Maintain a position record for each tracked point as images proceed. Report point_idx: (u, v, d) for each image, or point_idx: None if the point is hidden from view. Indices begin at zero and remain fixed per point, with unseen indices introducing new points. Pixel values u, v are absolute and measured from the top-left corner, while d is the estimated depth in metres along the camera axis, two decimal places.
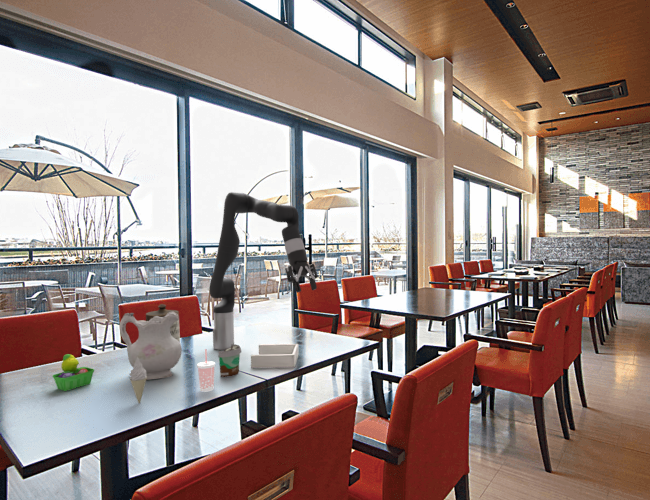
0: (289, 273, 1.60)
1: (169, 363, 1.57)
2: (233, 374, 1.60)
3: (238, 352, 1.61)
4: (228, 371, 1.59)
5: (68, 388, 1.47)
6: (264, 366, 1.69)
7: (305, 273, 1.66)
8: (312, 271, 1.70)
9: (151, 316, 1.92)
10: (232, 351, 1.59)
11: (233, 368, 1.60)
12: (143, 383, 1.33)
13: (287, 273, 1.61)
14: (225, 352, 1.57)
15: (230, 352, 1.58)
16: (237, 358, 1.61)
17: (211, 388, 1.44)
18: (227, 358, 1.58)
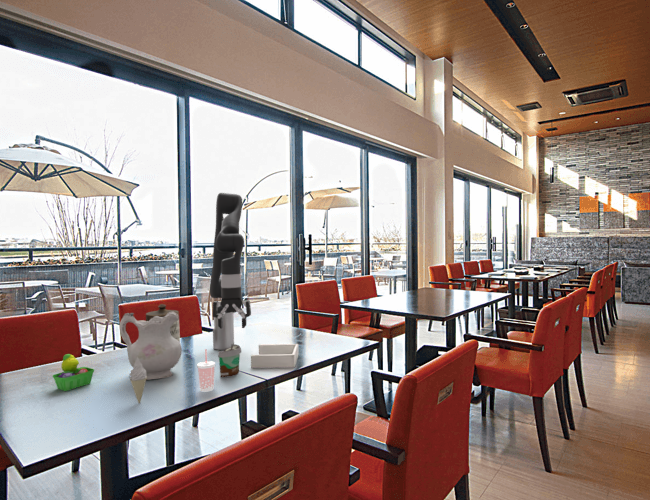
0: None
1: (169, 363, 1.57)
2: (233, 374, 1.60)
3: (238, 352, 1.61)
4: (228, 371, 1.59)
5: (68, 388, 1.47)
6: (264, 366, 1.69)
7: (233, 311, 1.61)
8: None
9: (151, 316, 1.92)
10: (232, 351, 1.59)
11: (233, 368, 1.60)
12: (143, 383, 1.33)
13: None
14: (225, 352, 1.57)
15: (230, 352, 1.58)
16: (237, 358, 1.61)
17: (211, 388, 1.44)
18: (227, 358, 1.58)
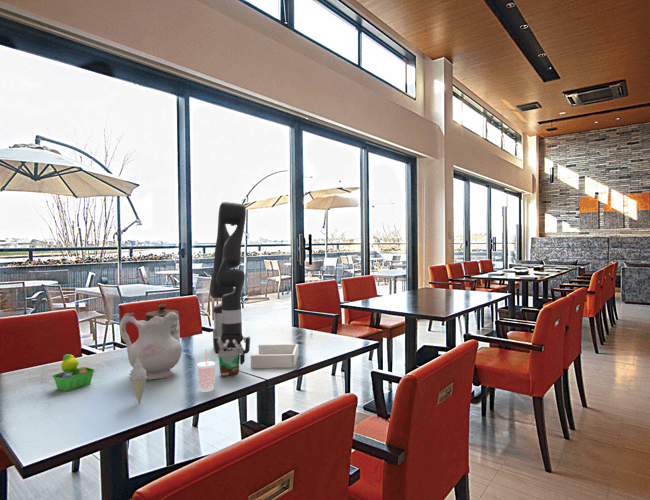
0: None
1: (169, 363, 1.57)
2: (233, 374, 1.60)
3: (238, 352, 1.61)
4: (228, 371, 1.59)
5: (68, 388, 1.47)
6: (264, 366, 1.69)
7: (232, 346, 1.61)
8: (246, 344, 1.62)
9: (151, 316, 1.92)
10: (232, 351, 1.59)
11: (233, 368, 1.60)
12: (143, 383, 1.33)
13: None
14: (225, 352, 1.57)
15: (230, 352, 1.58)
16: (237, 358, 1.61)
17: (211, 388, 1.44)
18: (227, 358, 1.58)
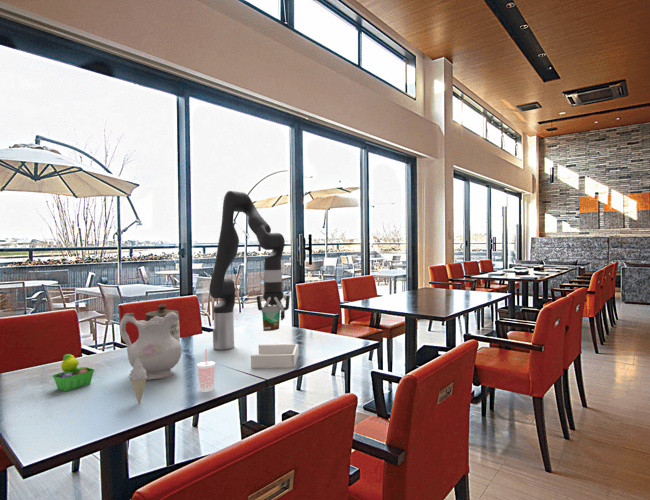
0: None
1: (169, 363, 1.57)
2: (275, 328, 1.75)
3: (279, 308, 1.76)
4: (271, 325, 1.74)
5: (68, 388, 1.47)
6: (264, 366, 1.69)
7: (274, 303, 1.76)
8: (286, 302, 1.77)
9: (151, 316, 1.92)
10: (274, 307, 1.74)
11: (275, 323, 1.75)
12: (143, 383, 1.33)
13: None
14: (268, 308, 1.73)
15: (272, 308, 1.73)
16: (278, 314, 1.76)
17: (211, 388, 1.44)
18: (269, 313, 1.73)
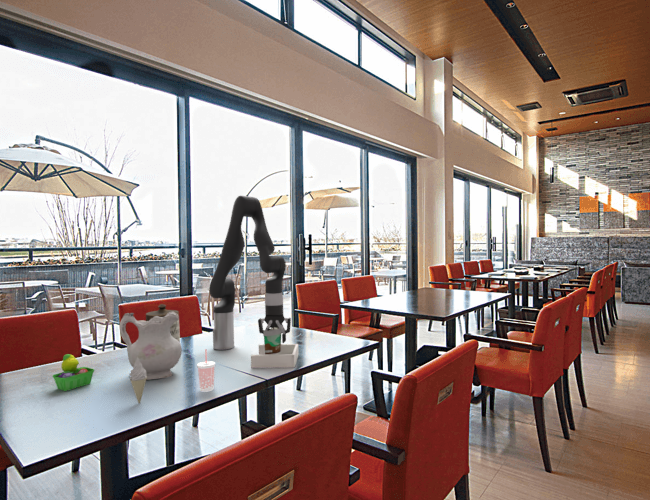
0: None
1: (169, 363, 1.57)
2: (276, 351, 1.75)
3: (280, 331, 1.76)
4: (272, 348, 1.74)
5: (68, 388, 1.47)
6: (264, 366, 1.69)
7: (275, 326, 1.77)
8: (287, 325, 1.77)
9: (151, 316, 1.92)
10: (275, 330, 1.74)
11: (276, 346, 1.75)
12: (143, 383, 1.33)
13: None
14: (269, 331, 1.73)
15: (274, 331, 1.74)
16: (279, 337, 1.77)
17: (211, 388, 1.44)
18: (271, 337, 1.74)
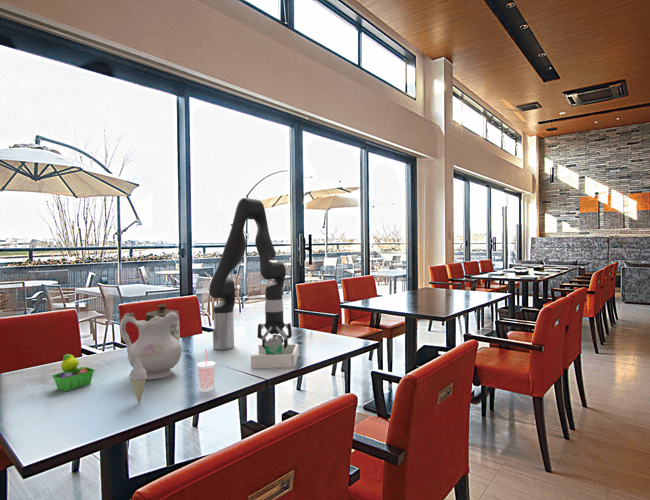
0: None
1: (169, 363, 1.57)
2: None
3: (281, 341, 1.76)
4: None
5: (68, 388, 1.47)
6: (264, 366, 1.69)
7: (276, 332, 1.77)
8: (288, 330, 1.77)
9: (151, 316, 1.92)
10: (277, 340, 1.74)
11: None
12: (143, 383, 1.33)
13: None
14: (271, 341, 1.73)
15: (275, 341, 1.74)
16: (280, 347, 1.77)
17: (211, 388, 1.44)
18: (272, 347, 1.74)
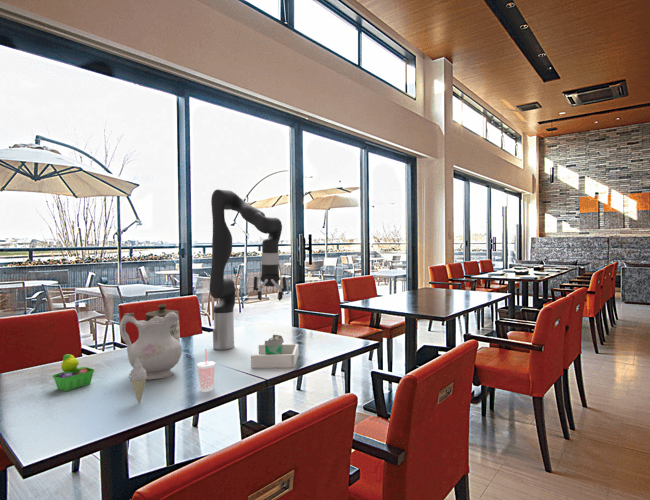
0: None
1: (169, 363, 1.57)
2: None
3: (281, 341, 1.76)
4: None
5: (68, 388, 1.47)
6: (264, 366, 1.69)
7: (271, 285, 1.84)
8: (283, 283, 1.84)
9: (151, 316, 1.92)
10: (277, 340, 1.74)
11: None
12: (143, 383, 1.33)
13: None
14: (271, 341, 1.73)
15: (275, 341, 1.74)
16: (280, 347, 1.77)
17: (211, 388, 1.44)
18: (272, 347, 1.74)
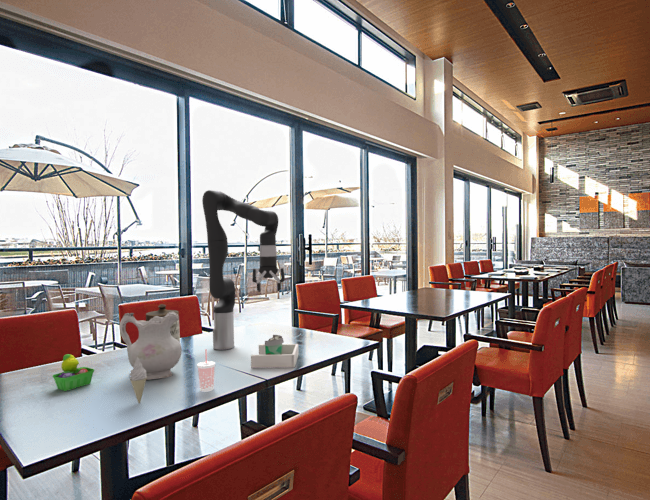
0: None
1: (169, 363, 1.57)
2: None
3: (281, 341, 1.76)
4: None
5: (68, 388, 1.47)
6: (264, 366, 1.69)
7: (270, 276, 1.88)
8: (281, 274, 1.89)
9: (151, 316, 1.92)
10: (277, 340, 1.74)
11: None
12: (143, 383, 1.33)
13: None
14: (271, 341, 1.73)
15: (275, 341, 1.74)
16: (280, 347, 1.77)
17: (211, 388, 1.44)
18: (272, 347, 1.74)
